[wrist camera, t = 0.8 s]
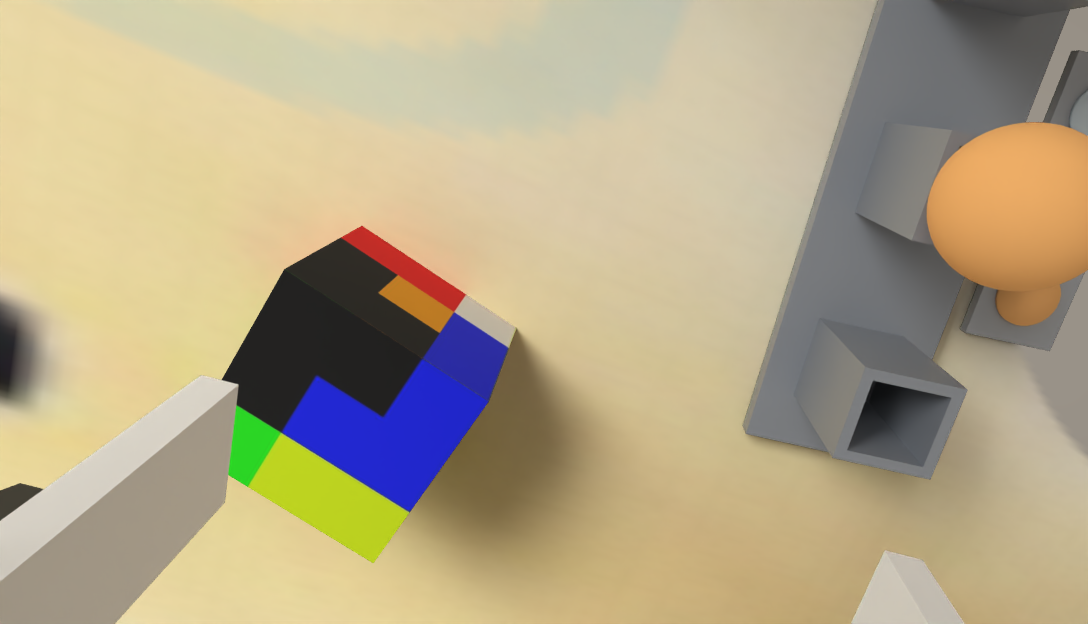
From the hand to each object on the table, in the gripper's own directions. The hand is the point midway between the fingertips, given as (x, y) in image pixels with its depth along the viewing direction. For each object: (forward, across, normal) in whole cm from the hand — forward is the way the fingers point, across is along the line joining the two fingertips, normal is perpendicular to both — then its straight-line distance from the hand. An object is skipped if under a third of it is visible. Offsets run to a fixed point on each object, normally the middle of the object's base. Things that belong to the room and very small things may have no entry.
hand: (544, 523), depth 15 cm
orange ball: (+15, +15, +8) cm, 22 cm away
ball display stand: (+25, +15, +8) cm, 30 cm away
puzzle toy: (+26, -9, -8) cm, 28 cm away
